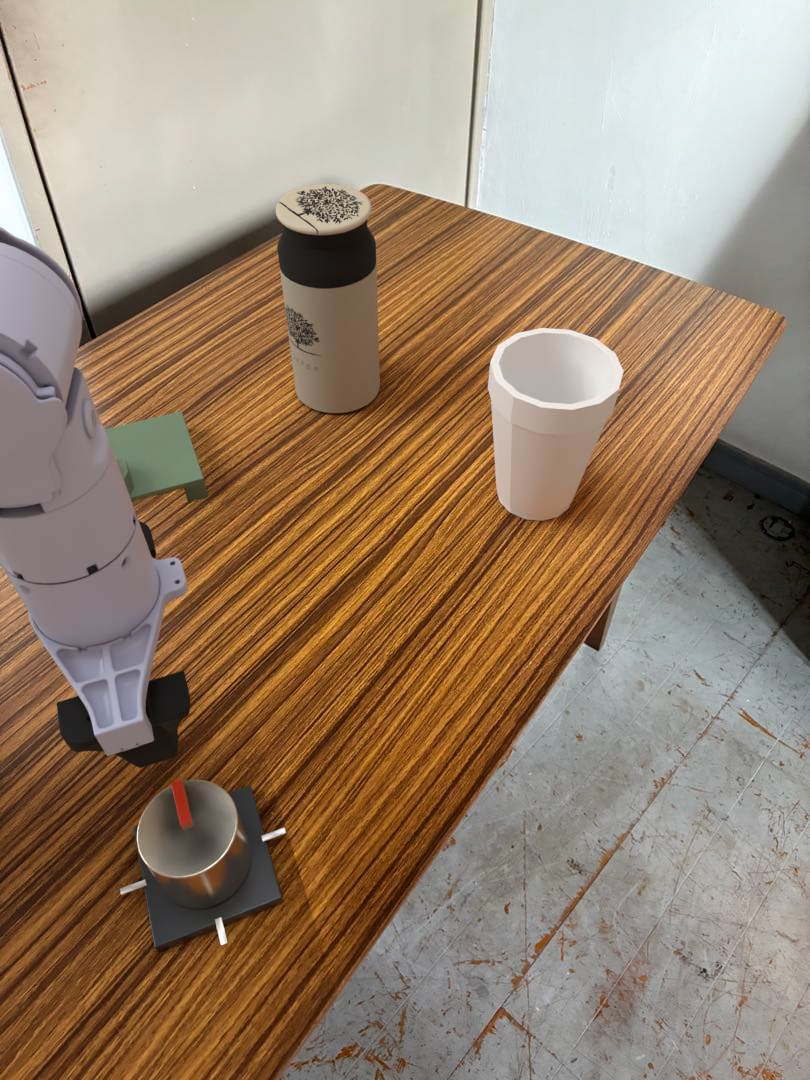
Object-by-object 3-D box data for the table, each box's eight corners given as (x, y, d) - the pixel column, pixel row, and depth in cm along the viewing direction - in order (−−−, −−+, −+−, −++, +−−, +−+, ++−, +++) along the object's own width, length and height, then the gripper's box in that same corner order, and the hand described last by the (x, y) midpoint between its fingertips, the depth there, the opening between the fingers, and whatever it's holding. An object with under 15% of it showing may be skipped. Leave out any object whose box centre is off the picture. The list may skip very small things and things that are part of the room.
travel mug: (356, 353, 81) (346, 173, 67) (395, 399, 76) (392, 215, 62) (282, 378, 78) (256, 196, 64) (317, 426, 74) (297, 241, 60)
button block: (72, 542, 65) (56, 508, 62) (59, 460, 71) (43, 426, 68) (211, 505, 67) (202, 470, 64) (186, 429, 73) (177, 394, 70)
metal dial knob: (262, 887, 45) (248, 852, 41) (168, 924, 44) (144, 893, 40) (238, 802, 48) (223, 762, 44) (150, 835, 47) (126, 797, 43)
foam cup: (609, 481, 69) (643, 355, 59) (562, 551, 64) (591, 426, 54) (509, 440, 72) (526, 314, 63) (457, 504, 67) (467, 378, 57)
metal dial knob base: (146, 992, 44) (134, 980, 42) (119, 831, 50) (107, 813, 48) (313, 924, 46) (309, 909, 44) (269, 777, 52) (264, 759, 50)
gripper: (196, 638, 31) (248, 789, 41) (136, 404, 40) (191, 576, 50) (-1, 696, 29) (105, 838, 39) (-17, 439, 38) (72, 610, 48)
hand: (144, 695), depth 45 cm, fingers open, 7 cm apart
